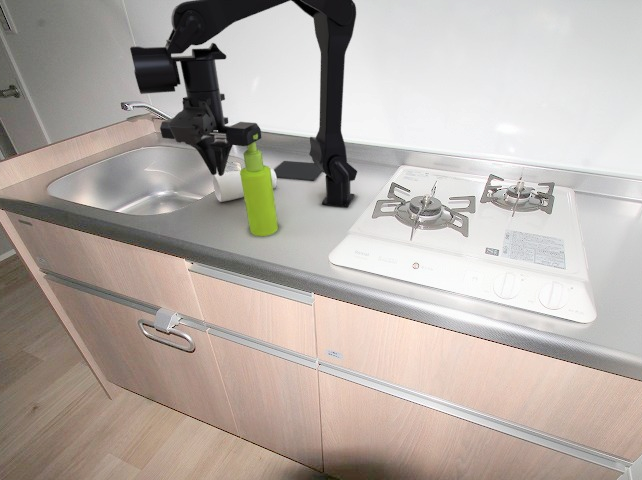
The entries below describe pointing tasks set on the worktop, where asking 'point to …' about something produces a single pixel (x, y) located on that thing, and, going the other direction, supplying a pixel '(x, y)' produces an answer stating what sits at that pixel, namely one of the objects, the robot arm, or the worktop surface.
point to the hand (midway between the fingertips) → (217, 174)
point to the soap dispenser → (258, 193)
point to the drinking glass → (232, 185)
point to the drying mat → (297, 170)
